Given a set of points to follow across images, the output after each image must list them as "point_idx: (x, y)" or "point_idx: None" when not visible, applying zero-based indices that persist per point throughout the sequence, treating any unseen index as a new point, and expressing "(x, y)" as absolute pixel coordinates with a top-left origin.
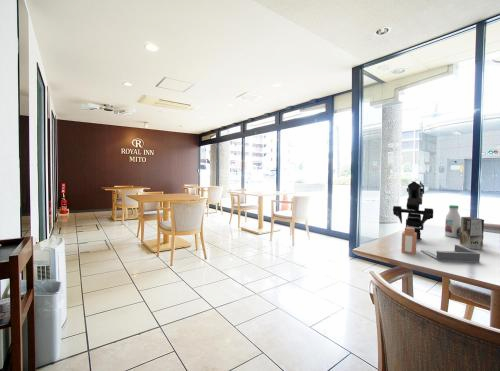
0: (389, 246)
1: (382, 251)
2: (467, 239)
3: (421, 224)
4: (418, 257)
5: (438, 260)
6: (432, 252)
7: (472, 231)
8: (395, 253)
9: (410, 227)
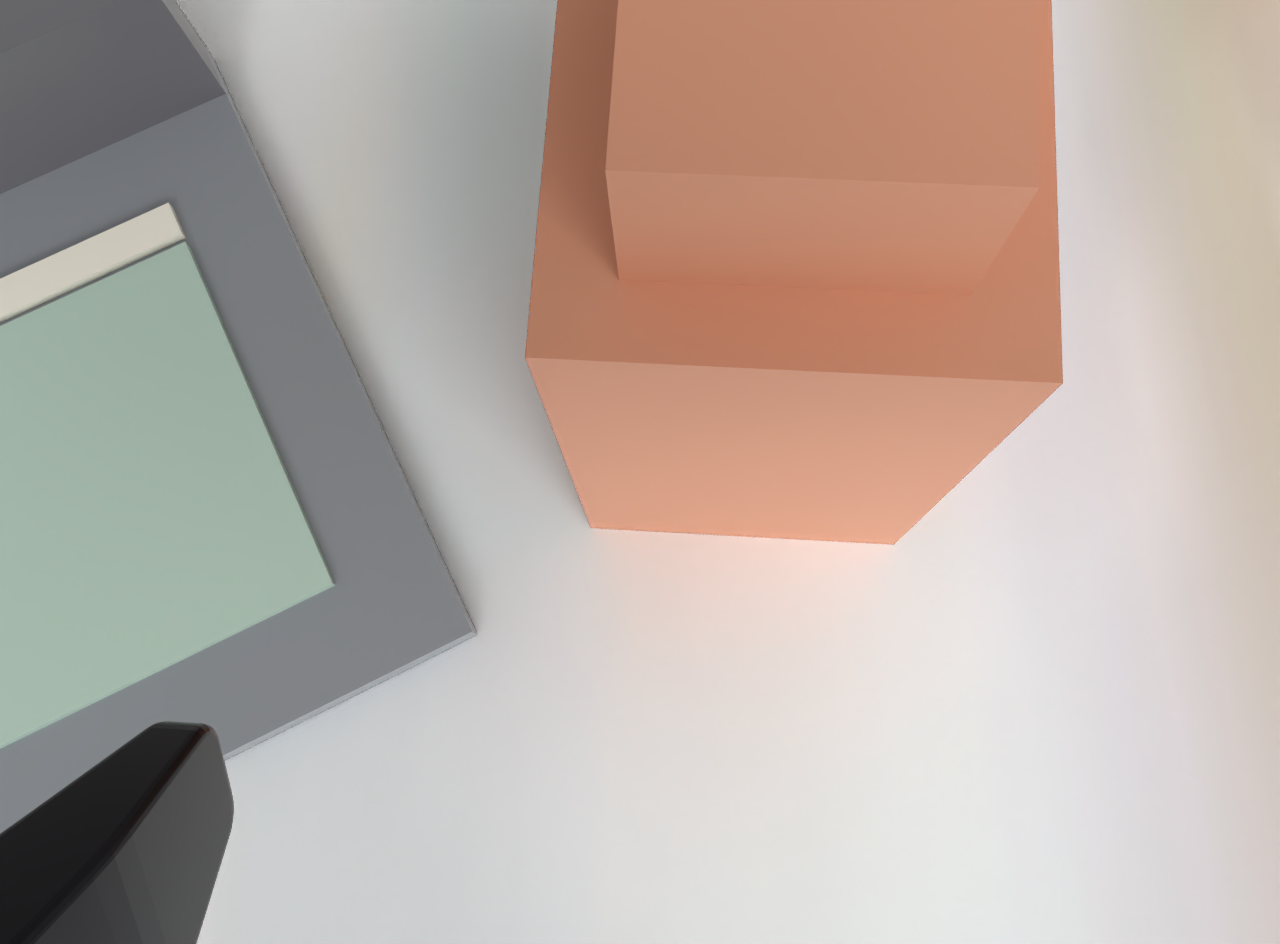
0: (1237, 664)
1: (1271, 92)
2: None
3: (178, 733)
4: None
5: (206, 49)
6: (233, 517)
7: None
8: None
9: (800, 172)
